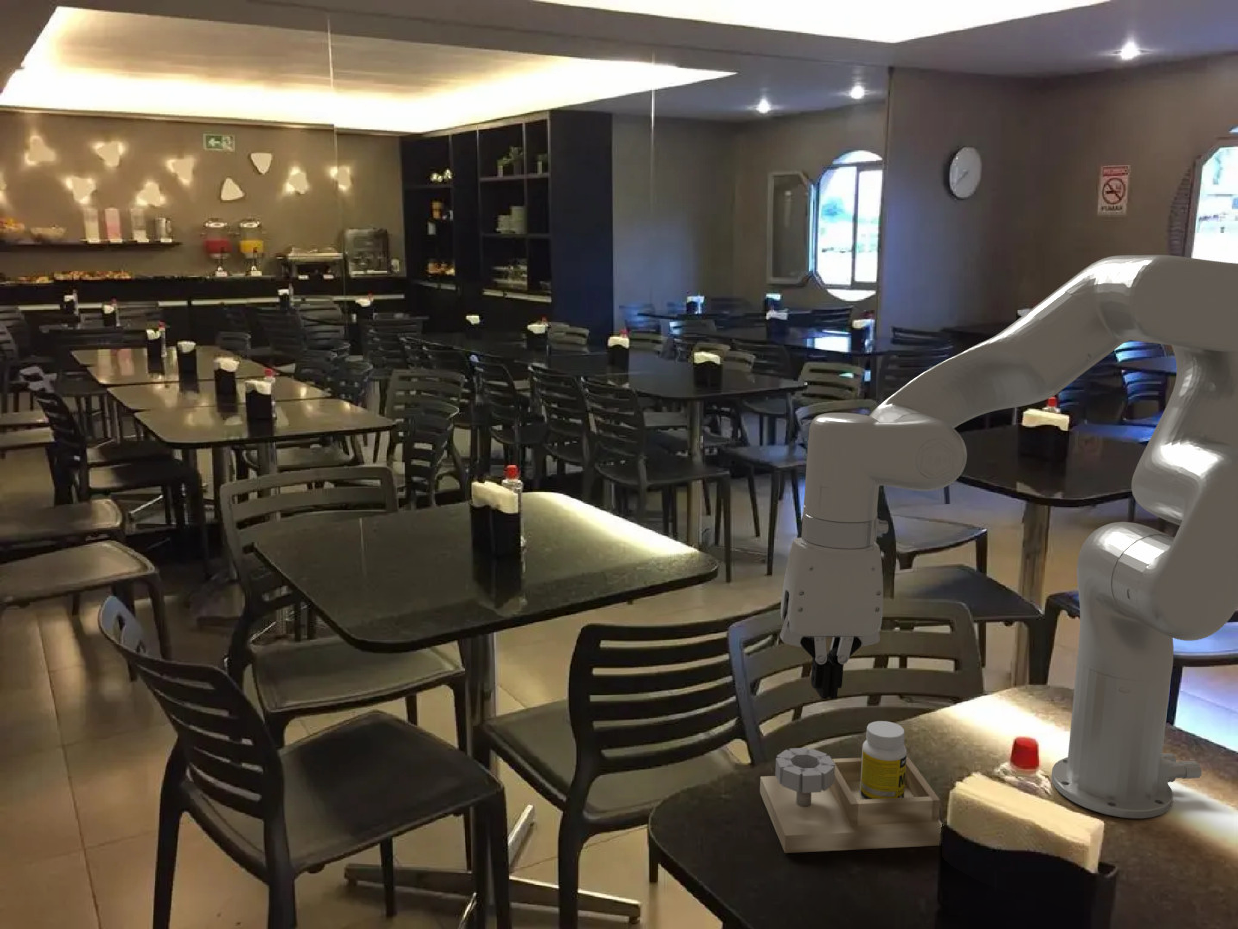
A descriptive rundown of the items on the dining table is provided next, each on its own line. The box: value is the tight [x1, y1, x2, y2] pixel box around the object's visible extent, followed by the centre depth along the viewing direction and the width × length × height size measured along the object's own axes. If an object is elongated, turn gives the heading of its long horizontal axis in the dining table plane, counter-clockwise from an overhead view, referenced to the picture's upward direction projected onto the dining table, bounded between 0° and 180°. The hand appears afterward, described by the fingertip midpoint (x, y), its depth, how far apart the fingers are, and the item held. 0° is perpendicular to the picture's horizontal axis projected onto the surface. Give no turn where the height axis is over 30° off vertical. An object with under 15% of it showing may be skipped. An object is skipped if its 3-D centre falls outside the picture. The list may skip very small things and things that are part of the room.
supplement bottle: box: [860, 720, 908, 800], centre depth 108 cm, size 5×5×8 cm
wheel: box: [774, 747, 835, 793], centre depth 108 cm, size 6×6×2 cm
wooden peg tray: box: [759, 755, 943, 854], centre depth 109 cm, size 17×12×6 cm
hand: (825, 693), depth 108 cm, fingers closed
